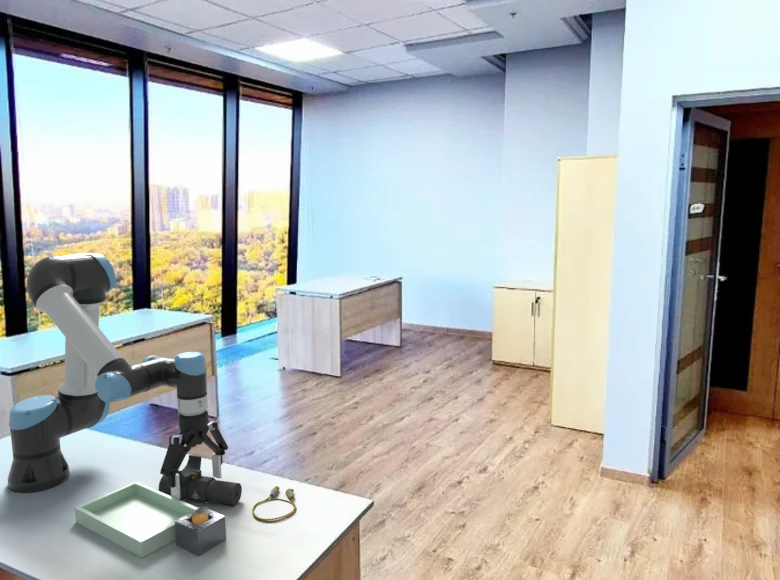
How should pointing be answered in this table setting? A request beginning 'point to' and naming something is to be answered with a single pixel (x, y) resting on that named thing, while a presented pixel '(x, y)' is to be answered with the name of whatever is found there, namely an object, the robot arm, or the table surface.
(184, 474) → the laser sight
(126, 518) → the tray
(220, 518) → the grey square holder
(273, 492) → the extension cord
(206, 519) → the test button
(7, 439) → the table surface
